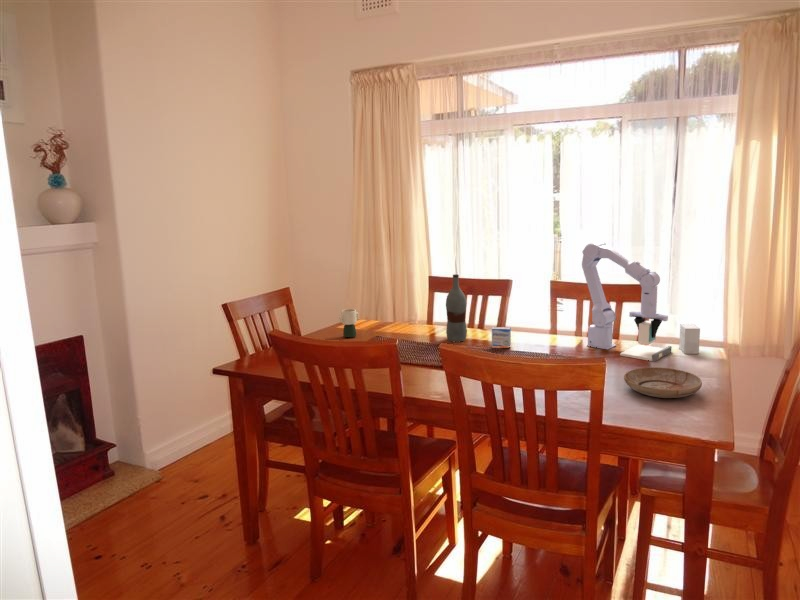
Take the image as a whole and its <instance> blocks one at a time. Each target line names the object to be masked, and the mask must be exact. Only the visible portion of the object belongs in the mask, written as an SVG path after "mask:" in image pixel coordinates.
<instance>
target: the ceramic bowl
mask: <svg viewBox="0 0 800 600" xmlns="http://www.w3.org/2000/svg"><path fill="white" fill-rule="evenodd" d="M623 379H624V383H625V384H626V385H627V386H628V387H629V388H630V389H632V390H633V391H635V392H638V393H640V394H642V395H645V396H649V397H654V398H660V399H662V398H663V399H675V398H684V397H688V396H691V395H694V394H695V393H697V392H698V391H699V390H700V389H701V388H702V385H703V381H702V379H701V377H699V376H698V375H696V374H694V373H691V372H689V371H685V370H680V369H676V368H669V367H640V368H639V367H638V368H634V369H631V370H629V371H627V372H625V374H624V375H623Z"/></svg>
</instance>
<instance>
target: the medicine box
mask: <svg viewBox="0 0 800 600" xmlns="http://www.w3.org/2000/svg"><path fill="white" fill-rule="evenodd" d="M511 331H512V329H511V327H510V326H509V327H507V326H500V327H499V326H492V328H491V346H492V345H493V346H510V345H511V343H512V342H511V341H512V339H511V337H512V334H511ZM511 346H512V345H511Z"/></svg>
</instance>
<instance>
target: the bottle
mask: <svg viewBox="0 0 800 600" xmlns="http://www.w3.org/2000/svg"><path fill="white" fill-rule="evenodd" d="M459 281H460V280H459V274H455V273H454V274H452V287H451V289H450V290H449V292H448V293H447V296H446V299H445V300H446V301H445V309H446V320H447V321H446V330H445V333H446V338H447V341H448V342H450V341H456V342H455V343H460V342H459V341H463V342H465V341H466V340H467V333H468V329H467V323H466V319H467V317H466V316H467V304H468V303H467V299H466V295H465V293H464V292H463V290H462V289H461V287H460V282H459ZM464 340H465V341H464Z"/></svg>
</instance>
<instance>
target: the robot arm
mask: <svg viewBox="0 0 800 600" xmlns="http://www.w3.org/2000/svg"><path fill="white" fill-rule="evenodd" d="M602 259H608V260H610V261H611V262H613V263H614V264H616V265H619V266H620V267H622V268H623V269H624V271H625V274H627V275H628V276H629V277H631V278H632V279H634V280H635V281H637V282H639V283H638V284H639V285H640V287H641V299H640V311H632V310H631V311H629V315H628V316H629V317H630V318H633V319H634V322H635V324H636V327H637V330H638V331H639V324H640V323H642V322H644V321H646V320H647V319H649V320H650V321H651V325H652V338H654V337H655V336H656V335H657V332H658V330H659V327H660V326H661V324H662V322H667V321H669V315H664V314H660V313H657V303H658V285H659V284H660V282H661V278H660V274H658V273H657V272H656V271H651V269H648V268H645V267H644V266H642V265H641V262H639V261H635V260H634V261H630V260H628V259H627V258H626V257H624V256H623V255H622V254H620V253H619V252H618V251H616V249H614V248H612V246H610V245H609V244H607V243H605V242H603V241H598V242H594V243H588V244H587V245H585V246H584V248H583V250H582V261H581V267H582V270H583V275H584V278H585V281H586V284H587V289H588V291H589V295H590V298H591V301H592V302H591V303H592V304H593V306H592V309H591V314H592V315H591V317H592V318H591V321H592V324H590V325H589V327H588V328H587V329H588V331H587V345H586V346H587V347H590V346H591V348H596V347H597V348H596V349H602V350H610V349H612V348H614V347H616V346H617V344H616V343H615V344H614V343H613V330H614V328H613V327H614V325H613V323H614V322H615V320H616V318H617V316H616V312H615V311H614V310H613V308H612V306H611V304H610V303H609V302H607V299H606V295H605V292H604V289H603V285H602V283H601V279H600V276H599V273H598V268H597V265H598V264H599V262H600V260H602Z"/></svg>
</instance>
